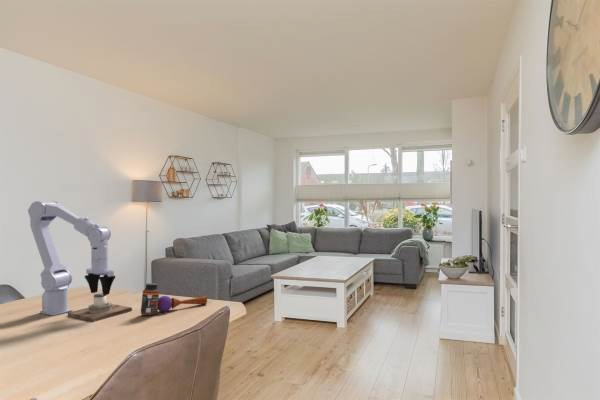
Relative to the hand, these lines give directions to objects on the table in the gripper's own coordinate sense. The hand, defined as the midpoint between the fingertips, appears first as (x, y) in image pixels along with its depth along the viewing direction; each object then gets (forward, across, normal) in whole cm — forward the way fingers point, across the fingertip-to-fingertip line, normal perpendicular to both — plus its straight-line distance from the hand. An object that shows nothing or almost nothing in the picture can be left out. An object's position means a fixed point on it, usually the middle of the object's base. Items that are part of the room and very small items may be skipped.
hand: (100, 293), depth 153 cm
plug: (+6, 0, 0) cm, 6 cm away
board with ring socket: (+8, 0, 0) cm, 8 cm away
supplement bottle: (+7, +19, +7) cm, 22 cm away
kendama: (+8, +23, +20) cm, 31 cm away
